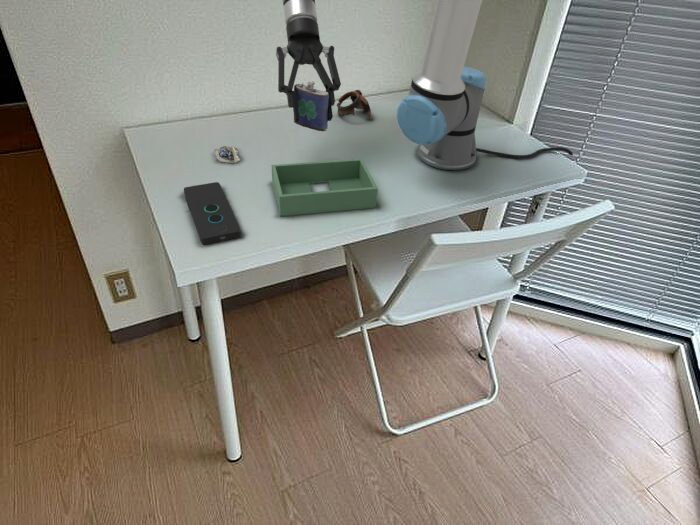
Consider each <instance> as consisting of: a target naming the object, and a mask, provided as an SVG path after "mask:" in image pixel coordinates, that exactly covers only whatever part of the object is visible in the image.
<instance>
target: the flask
mask: <svg viewBox="0 0 700 525" xmlns="http://www.w3.org/2000/svg"><path fill="white" fill-rule="evenodd" d="M306 84H307V85H305V84H304V82H303V83H296V84H294V85H293V91H296V95H297V103H298V111H299V121H298V123H295V120H294V119H293V123H294V124H296V125H298V126H301V127H303V128H308V129H311V130H313V131H318V132H326V131H327V130H328V128H329V125H328V122H329V121H328V100H329V94H328V92H325V91H326V90H320V89H316V88H314V87H315V86H314V85H316V82H315V81H307V82H306Z"/></svg>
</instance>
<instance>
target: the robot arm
mask: <svg viewBox="0 0 700 525" xmlns="http://www.w3.org/2000/svg"><path fill="white" fill-rule="evenodd" d="M482 4H483V0H436V3H435V6H434V13H433V17H432V22H431V25H430V30H429V35H428V39H427V43H426V47H425V52H424V56H423V61H422V66H421V69H419V70H418V71H416V72H414V74H413V75H412V78H411V84H410V87H409V91H408V95H407V96H405V97H404V98H403V99H402V100H401V101H400V103H399V105H398V106H397V109H396V120H397V124H398V127H399V129H401V131H402V134H403V135H404V136H405V138H407V139H408V140H409V141H410V142H412V143H415V144H416V145H418V148H417V156H418V159H420V160H421V161H422V162H423V163H424V164H426V165H428V166H429V167H432V168H435V169H439V170H443V171H462V170H466V169H469V168H471V167H473V166H474V165H475V163H476V160H477V155H478V154H477V153H482V154H487V155H492V156H499V157H505V158H509V159H530V158H533V157H535V156H537V155H538V154H541V153H544V152H554V151H555V152H556V151H560V152H561V151H563V152H565V153H567V155H569V156H574V153H573V152H572V151H571V150H570V149H568V148H567V147H564V146H563V147H560V146H556V147H555V146H554V147H543V148H540V149H538V150H536V151H534V152H532V153H529V154H512V153H506V152H505V153H504V152H499V151H493V150H489V149H483V148H478V147H477V143H476V134H475V133H476V129H477V124H478V120H479V115H480V111H481V106H482V102H483V99H484V93H485V91H486V83H487V76H486V75H485V73H483V71H481V70H479V69H476V68H473V67H470V66H466V65H465V64H466V60H467V56H468V53H469V49H470V46H471V42H472V38H473V35H474V32H475V28H476V24H477V20H478V17H479V14H480V11H481V10H480V9H481V8H482V7H481V6H482ZM282 5H283V12H284V13H283V14H284V22H285V29H286V30H285V31H286V36H287V37H286V38H287V44H286V46H285V47H281V46H277V47H276V51H275V56H276V59H277V61H278V62H277V63H278V70H277V71H278V72H277V73H278V74H277V75H278V78H277V89H278V90H277V91H278V92H279V93H282V94H285V95H286V100H287V106H288V108H290V109H291V108H292V110H293V121H294V120H295V123H294V124H296V123H298V121H299V111H298V103H297V95H296V91H294V86H295V81H296V77H297V74H298V70H299V66H304V65H308V66H309V65H311V66H312V67H313V69H314V70H315V71H316V74H317V75H318V77H319V79H320V81H321V83H322V85H323V87H324V89H325V90H324V91H325V92H328V94H329V100H328V122H331V121H332V120H333V117H334V115H333V107H334V106H335V104H336V97H335V91H339V90H340V88H341V85H342V82H341V78H340V74H339V70H338V67H337V63H336V60H335V59H336V58H335V46H334V45H330V46H325V45H323V43H322V42H321V37H320V31H319V30H320V28H319V24H318V15H317V7H316V0H282ZM322 53H323V55H324V57H325V58H326V62H327V66H328V70H329V75H330V76H329V75H328V72H327V71H326V69H325V67H324V65H323V63H322V59H321V57H320V56H321V54H322ZM288 54H289V56H290V57H291V58H292V60H293V65H292V69H291V71H290V76H289V79H288V84H287V85H286V84H285V59H286V58H287V55H288Z"/></svg>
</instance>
